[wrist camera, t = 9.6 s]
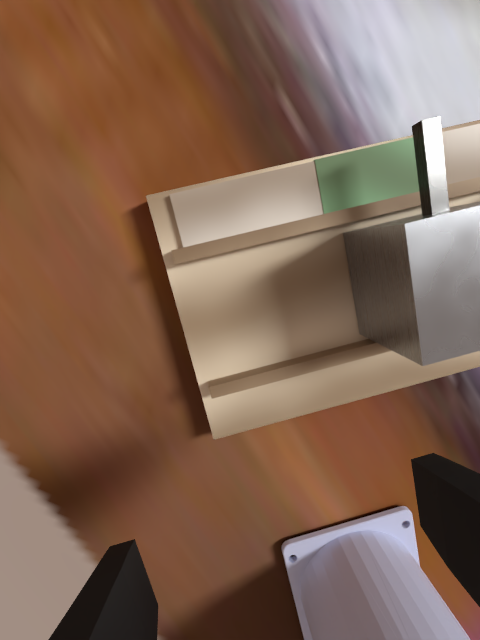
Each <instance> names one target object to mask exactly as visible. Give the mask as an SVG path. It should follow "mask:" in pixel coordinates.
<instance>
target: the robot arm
mask: <svg viewBox="0 0 480 640" xmlns="http://www.w3.org/2000/svg"><path fill="white" fill-rule="evenodd" d="M411 462H412V469H413V476H414V483H415V490H416V497H417V504H418V511H419V518H420V525H421V527H422V529H423V530H424V532H425V533H426V535H427V536H428V538H429V539H430V541H431V543H432V544H433V546H434V547H435V549H436V550H437V552H438V553H439V555H440V556H441V558H442V559H443V561H444V562H445V564H446V565H447V567H448V568H449V569H450V571H451V572H452V573H453V574H454V576H455V577H456V578H457V579H458V581H459V582H460V583H461V584H462V586H463V587H464V588H465V589H466V591H467V592H468V593H469V594H470V596H471V597H472V598H473V599H474V601H475V602H476V603H477V604H478V606H479V607H480V474H479V473H477V472H475V471H472V470H470V469H468V468H466V467H464V466H462V465H459V464H457V463H455V462H453V461H451V460H448V459H446V458H444V457H442V456H439V455H437V454H434V453H432V454H428V455H425V456H421V457H418V458H414V459H411ZM404 521H405V522H404ZM403 522H404V523H403ZM282 553H283V557H284V561H285V565H286V569H287V573H288V577H289V581H290V585H291V589H292V593H293V597H294V601H295V605H296V609H297V613H298V617H299V621H300V625H301V629H302V633H303V637H304V640H471V639H470V638H469V636H468V635H467V634H466V632H465V631H464V629H463V628H462V626H461V625H460V624H459V622H458V621H457V619H456V618H455V616H454V615H453V614H452V612H451V611H450V609H449V608H448V606H447V605H446V603H445V602H444V601H443V599H442V598H441V596H440V595H439V593H438V592H437V591H436V589H435V588H434V586H433V585H432V583H431V582H430V581H429V579H428V578H427V576H426V575H425V573H424V572H423V571H422V569H421V568H420V564H419V557H418V550H417V544H416V537H415V530H414V523H413V516H412V513H411V511H410V510H409V509H408V508H407V507H405V506H400V507H396V508H393V509H390V510H386V511H383V512H380V513H376V514H373V515H370V516H366V517H363V518H359V519H356V520H353V521H349V522H346V523H343V524H339V525H336V526H333V527H329V528H326V529H322V530H319V531H316V532H312V533H309V534H306V535H302V536H299V537H296V538H292V539H289V540H286V541H285V542H284V543H283V544H282ZM291 555H294V556H292V557H290V556H291ZM157 624H158V603H157V600H156V598H155V595H154V592H153V589H152V587H151V584H150V581H149V578H148V575H147V573H146V570H145V567H144V564H143V561H142V559H141V556H140V553H139V550H138V547H137V545H136V542H135V539H134V540H131V541H127V542H124V543H120V544H117V545H113V546H110V547H109V549H108V550H107V552H106V553H105V555H104V556H103V558H102V559H101V561H100V562H99V564H98V565H97V567H96V568H95V570H94V571H93V573H92V575H91V576H90V578H89V579H88V581H87V582H86V584H85V585H84V587H83V588H82V590H81V591H80V593H79V595H78V596H77V598H76V599H75V601H74V602H73V604H72V605H71V607H70V608H69V610H68V612H67V613H66V614H65V616H64V617H63V619H62V620H61V622H60V623H59V625H58V627H57V628H56V629H55V631H54V633H53V634H52V635H51V637H50V638H49V640H157Z"/></svg>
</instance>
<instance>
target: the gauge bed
mask: <svg viewBox="0 0 480 640" xmlns="http://www.w3.org/2000/svg"><path fill="white" fill-rule="evenodd" d="M442 139H443V149H444V159H445V169H446V179H447V189H448V199H449V207H453V206H459V205H464V204H470V203H475V202H480V120H477V121H473V122H469V123H464V124H460V125H455V126H451V127H447V128H442ZM146 198H147V201H148V205H149V209H150V212H151V216H152V219H153V223H154V227H155V230H156V234H157V237H158V241H159V245H160V248H161V252H162V255H163V259H164V263H165V266H166V270H167V273H168V277H169V281H170V284H171V288H172V291H173V295H174V299H175V302H176V306H177V309H178V313H179V317H180V320H181V324H182V327H183V331H184V335H185V338H186V342H187V345H188V349H189V353H190V356H191V360H192V363H193V367H194V371H195V374H196V378H197V381H198V385H199V389H200V392H201V396H202V399H203V403H204V407H205V410H206V414H207V417H208V421H209V424H210V428H211V432H212V435H213V439H218V438H222V437H225V436H229V435H233V434H236V433H240V432H243V431H247V430H251V429H254V428H258V427H262V426H265V425H269V424H273V423H276V422H280V421H283V420H287V419H291V418H294V417H298V416H302V415H305V414H309V413H313V412H316V411H320V410H323V409H327V408H331V407H334V406H338V405H342V404H345V403H349V402H353V401H356V400H360V399H364V398H367V397H371V396H374V395H378V394H382V393H385V392H389V391H393V390H396V389H400V388H404V387H407V386H411V385H414V384H418V383H422V382H425V381H429V380H433V379H436V378H440V377H444V376H447V375H451V374H454V373H458V372H462V371H465V370H469V369H473V368H476V367H480V351H477V352H473V353H470V354H466V355H462V356H459V357H455V358H451V359H447V360H444V361H440V362H436V363H433V364H429V365H425V366H421V365H419V364H417V363H415V362H413V361H411V360H410V359H408V358H406V357H404V356H402V355H400V354H398V353H396V352H394V351H392V350H390V349H388V348H386V347H384V346H382V345H380V344H378V343H376V342H374V341H372V340H370V339H368V338H366V337H364V336H362V335H360V334H359V328H358V322H357V316H356V310H355V304H354V298H353V292H352V286H351V280H350V274H349V268H348V262H347V256H346V250H345V243H344V237H343V233H344V232H348V231H352V230H356V229H360V228H364V227H368V226H373V225H377V224H381V223H385V222H389V221H393V220H397V219H401V218H406V217H410V216H414V215H418V214H422V210H421V201H420V192H419V184H418V175H417V166H416V158H415V149H414V140H413V135H411V136H407V137H403V138H398V139H394V140H389V141H385V142H381V143H376V144H372V145H367V146H363V147H359V148H354V149H350V150H345V151H341V152H336V153H332V154H328V155H323V156H319V157H314V158H310V159H306V160H301V161H297V162H292V163H288V164H284V165H279V166H275V167H270V168H266V169H262V170H257V171H253V172H248V173H244V174H240V175H235V176H231V177H226V178H222V179H218V180H213V181H209V182H204V183H200V184H196V185H191V186H187V187H182V188H178V189H173V190H169V191H165V192H160V193H156V194H151V195H147V196H146Z"/></svg>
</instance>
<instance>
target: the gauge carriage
mask: <svg viewBox="0 0 480 640" xmlns="http://www.w3.org/2000/svg"><path fill="white" fill-rule="evenodd" d="M412 132H413V140H414V149H415V158H416V166H417V175H418V184H419V192H420V201H421V210H422V214H418V215H414V216H410V217H406V218H401V219H397V220H393V221H389V222H385V223H381V224H377V225H373V226H368V227H364V228H360V229H356V230H352V231H348V232H344V233H343V237H344V243H345V250H346V256H347V262H348V268H349V274H350V280H351V286H352V292H353V298H354V304H355V310H356V316H357V322H358V328H359V334H360V335H362V336H364V337H366V338H368V339H370V340H372V341H374V342H376V343H378V344H380V345H382V346H384V347H386V348H388V349H390V350H392V351H394V352H396V353H398V354H400V355H402V356H404V357H406V358H408V359H410V360H411V361H413V362H415V363H417V364H419V365H421V366H425V365H429V364H433V363H436V362H440V361H444V360H447V359H451V358H455V357H459V356H462V355H466V354H470V353H473V352H477V351H480V202H475V203H470V204H464V205H459V206H453V207H449V199H448V189H447V179H446V169H445V159H444V149H443V139H442V128H441V118H440V116H439V117H434V118H430V119H425V120H422V121H420V122H418V123H417V124H415V125H413V126H412Z"/></svg>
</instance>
